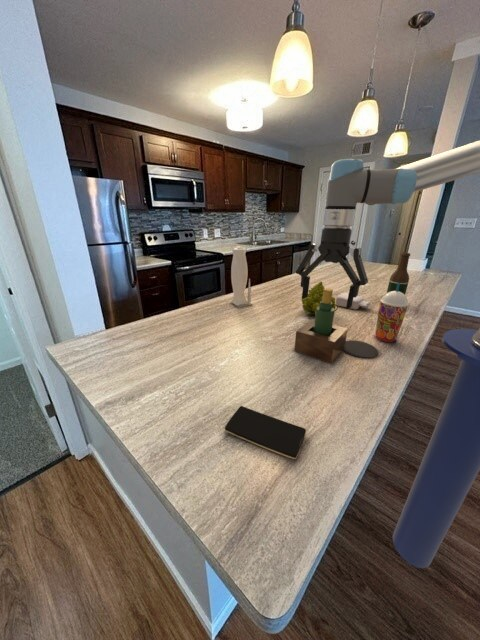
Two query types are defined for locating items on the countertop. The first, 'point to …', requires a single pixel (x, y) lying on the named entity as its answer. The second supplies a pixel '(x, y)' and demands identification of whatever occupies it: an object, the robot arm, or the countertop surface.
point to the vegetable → (315, 299)
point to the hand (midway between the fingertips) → (325, 302)
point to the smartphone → (266, 432)
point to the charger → (356, 303)
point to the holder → (320, 342)
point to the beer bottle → (400, 275)
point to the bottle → (324, 314)
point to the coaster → (360, 349)
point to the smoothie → (391, 315)
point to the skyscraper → (240, 277)
